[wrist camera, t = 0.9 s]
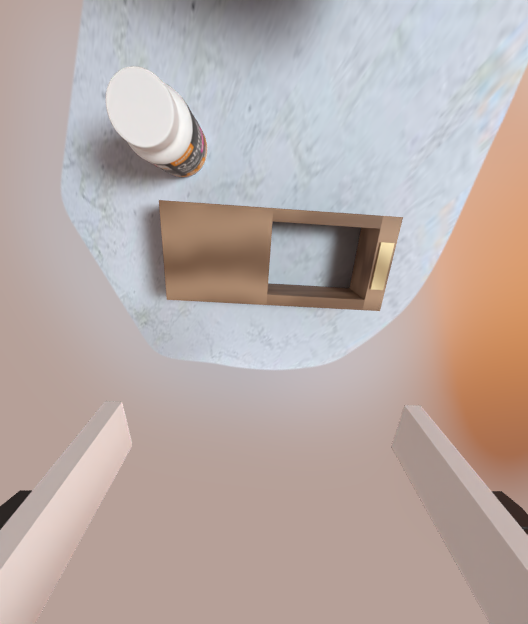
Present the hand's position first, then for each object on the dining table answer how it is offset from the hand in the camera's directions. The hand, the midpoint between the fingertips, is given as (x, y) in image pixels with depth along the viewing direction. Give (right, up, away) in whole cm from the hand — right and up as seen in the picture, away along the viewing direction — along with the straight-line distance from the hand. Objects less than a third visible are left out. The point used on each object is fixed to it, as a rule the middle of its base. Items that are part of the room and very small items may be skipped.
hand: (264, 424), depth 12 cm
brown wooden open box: (+1, +13, +19) cm, 23 cm away
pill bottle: (-9, +23, +15) cm, 29 cm away
